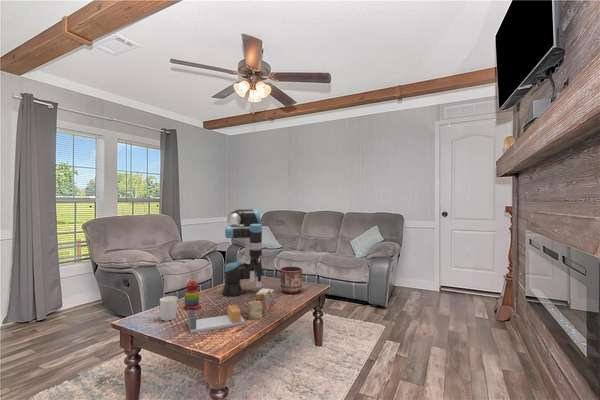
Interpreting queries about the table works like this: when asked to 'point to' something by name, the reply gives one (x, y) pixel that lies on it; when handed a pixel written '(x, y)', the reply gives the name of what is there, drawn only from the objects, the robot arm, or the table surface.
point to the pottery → (291, 279)
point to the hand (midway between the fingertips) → (255, 284)
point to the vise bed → (210, 322)
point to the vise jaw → (234, 313)
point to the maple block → (255, 310)
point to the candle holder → (168, 308)
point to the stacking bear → (192, 296)
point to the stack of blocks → (265, 298)
